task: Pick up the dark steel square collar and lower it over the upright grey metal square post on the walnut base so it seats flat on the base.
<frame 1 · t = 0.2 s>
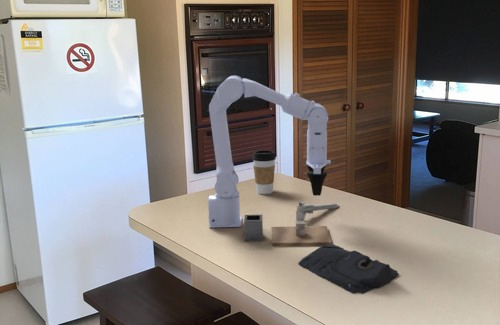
hand: (316, 191, 155), 10 cm above the kitchen counter, tool pointing down, fingers open, 7 cm apart
post base: (300, 239, 147), on the kitchen counter
caliper: (318, 215, 166), on the kitchen counter
steel collar: (253, 237, 148), on the kitchen counter
dark slate chunk: (346, 272, 127), on the kitchen counter
coffee cup: (264, 192, 189), on the kitchen counter
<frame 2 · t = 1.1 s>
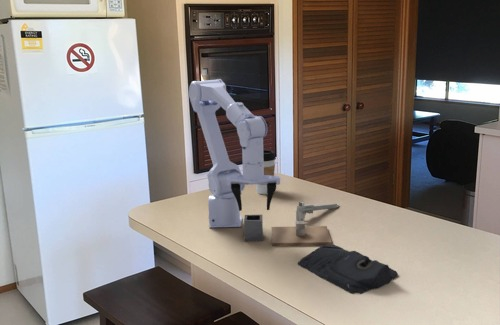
hand: (254, 209, 146), 8 cm above the kitchen counter, tool pointing down, fingers open, 7 cm apart
nothing on the kitchen counter moved.
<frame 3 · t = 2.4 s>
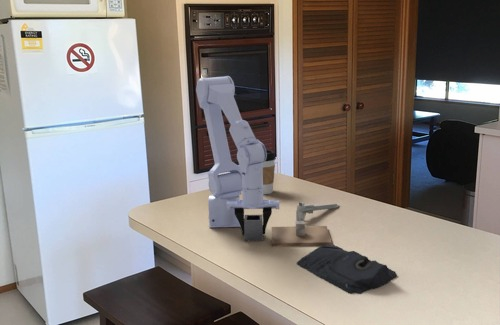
hand: (253, 233, 147), 1 cm above the kitchen counter, tool pointing down, fingers closed on steel collar, 5 cm apart
steel collar: (253, 237, 148), on the kitchen counter, touching gripper
everything else where it was.
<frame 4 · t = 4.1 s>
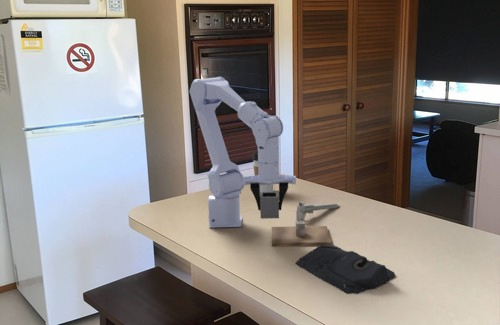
hand: (269, 209, 145), 8 cm above the kitchen counter, tool pointing down, fingers closed on steel collar, 5 cm apart
steel collar: (269, 215, 146), point 7 cm above the kitchen counter, touching gripper
everything else where it was.
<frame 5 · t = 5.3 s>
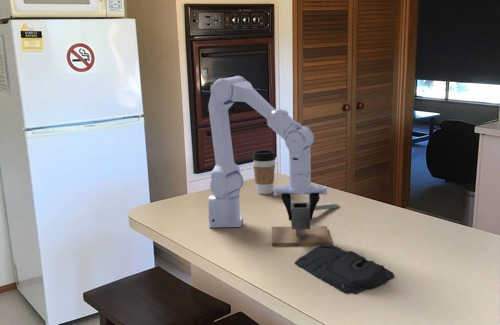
hand: (300, 219, 146), 5 cm above the kitchen counter, tool pointing down, fingers closed on steel collar, 5 cm apart
steel collar: (300, 225, 146), point 3 cm above the kitchen counter, touching gripper
when the fingers open (4 cm above the kitchen counter, at t = 6.0 s): steel collar drops 2 cm, resting on post base.
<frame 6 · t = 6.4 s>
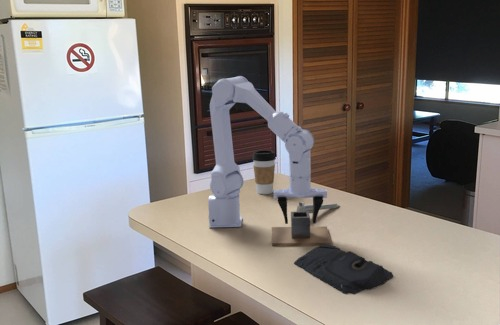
hand: (300, 222, 146), 4 cm above the kitchen counter, tool pointing down, fingers open, 7 cm apart
post base: (300, 239, 147), on the kitchen counter, touching steel collar
steel collar: (300, 234, 147), point 1 cm above the kitchen counter, touching post base
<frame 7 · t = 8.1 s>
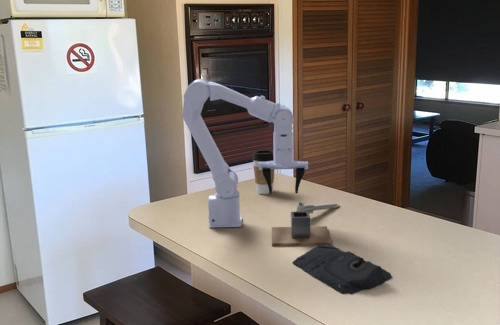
hand: (283, 192, 157), 9 cm above the kitchen counter, tool pointing down, fingers open, 7 cm apart
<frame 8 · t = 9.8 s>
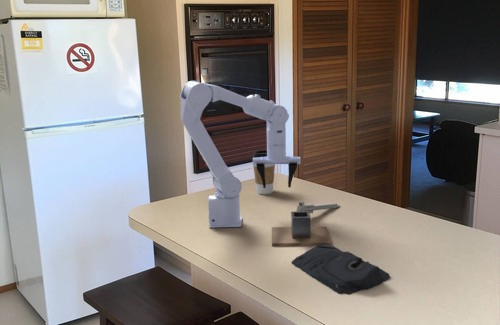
hand: (276, 186, 163), 9 cm above the kitchen counter, tool pointing down, fingers open, 7 cm apart
at the end: steel collar 0.1 cm from the post base (horizontally); steel collar point 0.8 cm above the kitchen counter; the gripper is holding nothing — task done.
